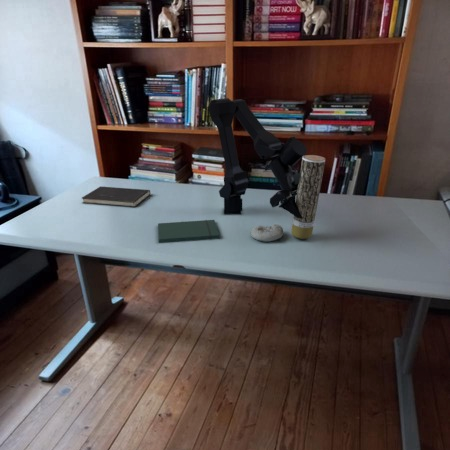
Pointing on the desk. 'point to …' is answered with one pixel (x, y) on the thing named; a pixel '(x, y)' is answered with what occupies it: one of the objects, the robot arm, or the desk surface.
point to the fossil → (267, 233)
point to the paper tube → (308, 195)
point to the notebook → (187, 231)
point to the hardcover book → (116, 196)
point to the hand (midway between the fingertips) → (307, 216)
